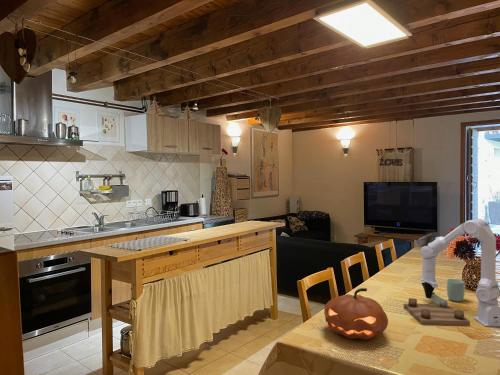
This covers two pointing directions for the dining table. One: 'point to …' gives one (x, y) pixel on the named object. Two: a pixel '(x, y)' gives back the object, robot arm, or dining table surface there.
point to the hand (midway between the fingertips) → (428, 298)
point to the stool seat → (435, 314)
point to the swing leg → (438, 300)
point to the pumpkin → (355, 316)
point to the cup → (455, 289)
